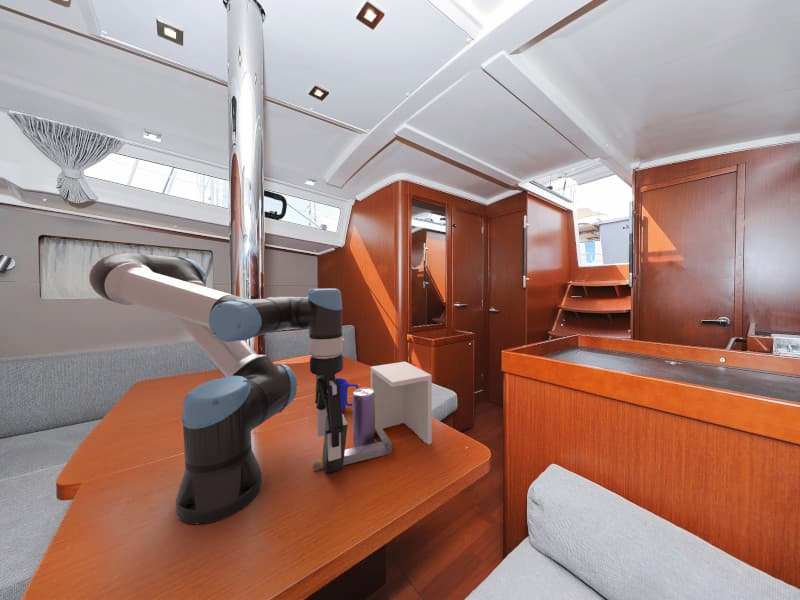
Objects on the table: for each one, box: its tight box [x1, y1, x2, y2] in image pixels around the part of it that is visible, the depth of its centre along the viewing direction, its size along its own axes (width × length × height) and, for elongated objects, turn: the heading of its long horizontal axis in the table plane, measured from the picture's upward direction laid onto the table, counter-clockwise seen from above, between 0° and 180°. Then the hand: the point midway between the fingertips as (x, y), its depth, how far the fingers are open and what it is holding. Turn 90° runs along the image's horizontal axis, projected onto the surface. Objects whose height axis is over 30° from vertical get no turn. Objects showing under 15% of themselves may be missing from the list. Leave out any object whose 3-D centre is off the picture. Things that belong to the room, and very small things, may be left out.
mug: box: [335, 377, 359, 412], centre depth 98 cm, size 8×12×10 cm
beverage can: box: [351, 387, 376, 448], centre depth 77 cm, size 6×6×15 cm
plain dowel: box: [312, 460, 325, 472], centre depth 70 cm, size 12×2×2 cm, turn 117°
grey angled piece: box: [321, 413, 393, 474], centre depth 71 cm, size 17×8×12 cm, turn 117°
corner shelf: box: [370, 361, 433, 446], centre depth 81 cm, size 12×15×19 cm
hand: (328, 445), depth 68 cm, fingers open, 10 cm apart
